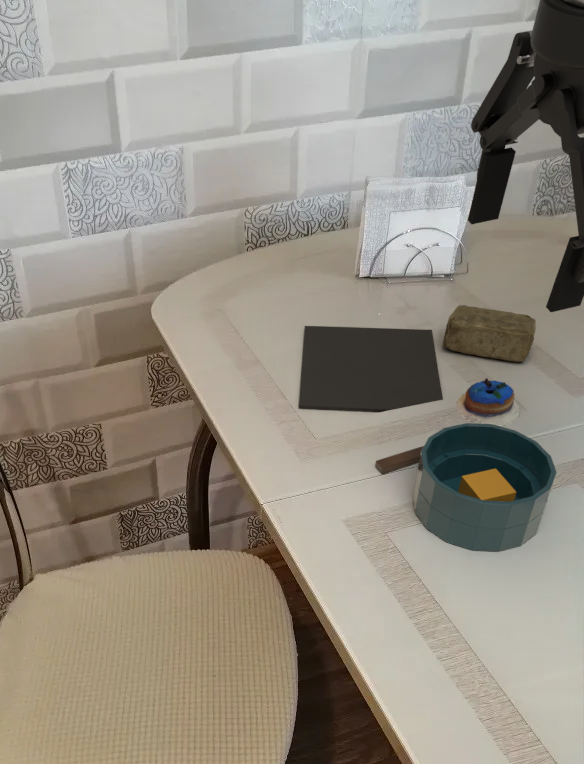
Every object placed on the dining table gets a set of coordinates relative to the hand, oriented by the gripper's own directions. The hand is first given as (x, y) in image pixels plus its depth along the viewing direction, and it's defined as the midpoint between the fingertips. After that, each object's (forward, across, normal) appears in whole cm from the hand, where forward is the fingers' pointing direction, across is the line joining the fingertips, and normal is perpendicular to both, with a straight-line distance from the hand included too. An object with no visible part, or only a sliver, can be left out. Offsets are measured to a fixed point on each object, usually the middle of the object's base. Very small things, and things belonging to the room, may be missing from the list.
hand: (520, 260), depth 70 cm
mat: (+31, -22, -1) cm, 38 cm away
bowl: (+26, +7, -2) cm, 27 cm away
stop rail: (+28, -2, -3) cm, 28 cm away
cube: (+26, +8, -2) cm, 27 cm away
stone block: (+32, -21, +16) cm, 41 cm away
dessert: (+29, -8, +8) cm, 32 cm away
